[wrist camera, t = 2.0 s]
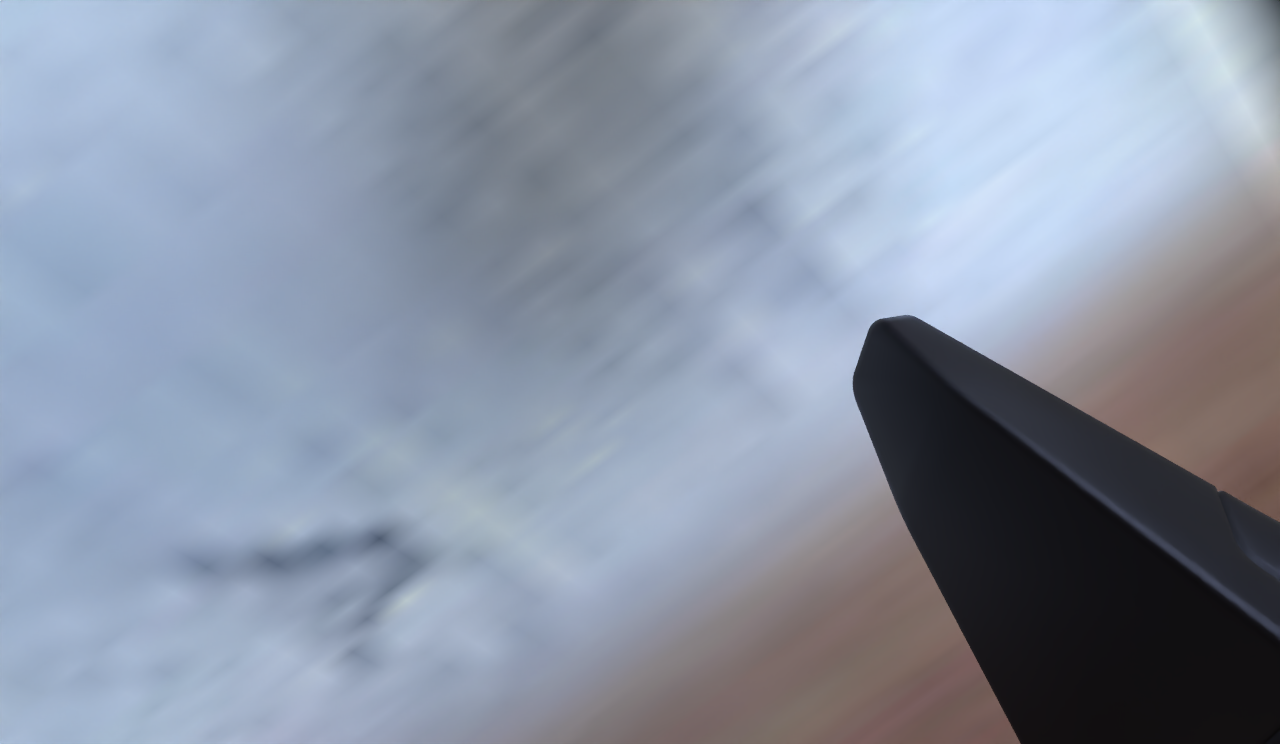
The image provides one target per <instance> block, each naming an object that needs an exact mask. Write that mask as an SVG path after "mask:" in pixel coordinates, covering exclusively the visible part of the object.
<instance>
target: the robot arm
mask: <svg viewBox="0 0 1280 744" xmlns="http://www.w3.org/2000/svg"><path fill="white" fill-rule="evenodd" d="M853 392H854V396H855V400H856V402H857V405H858V407H859V410H860V412H861V415H862V418H863V420H864V423H865V425H866V428H867V430H868V433H869V435H870V438H871V440H872V443H873V446H874V448H875V451H876V453H877V456H878V458H879V461H880V463H881V466H882V468H883V471H884V474H885V476H886V479H887V481H888V484H889V486H890V489H891V491H892V494H893V496H894V499H895V501H896V503H897V506H898V508H899V510H900V513H901V515H902V517H903V519H904V521H905V523H906V525H907V527H908V529H909V532H910V534H911V536H912V538H913V539H914V541H915V543H916V545H917V547H918V549H919V551H920V553H921V555H922V557H923V558H924V560H925V562H926V564H927V566H928V568H929V570H930V572H931V574H932V576H933V577H934V579H935V581H936V583H937V585H938V587H939V589H940V591H941V593H942V595H943V597H944V598H945V600H946V602H947V604H948V606H949V608H950V610H951V612H952V614H953V616H954V617H955V619H956V621H957V623H958V625H959V627H960V629H961V631H962V633H963V635H964V636H965V638H966V640H967V642H968V644H969V646H970V648H971V650H972V652H973V654H974V655H975V657H976V659H977V661H978V663H979V665H980V667H981V669H982V671H983V673H984V674H985V676H986V678H987V680H988V682H989V684H990V686H991V688H992V690H993V692H994V694H995V695H996V697H997V699H998V701H999V703H1000V705H1001V707H1002V709H1003V711H1004V713H1005V714H1006V716H1007V718H1008V720H1009V722H1010V724H1011V726H1012V728H1013V730H1014V732H1015V733H1016V735H1017V737H1018V739H1019V741H1020V743H1021V744H1280V522H1278V521H1276V520H1274V519H1272V518H1271V517H1269V516H1267V515H1265V514H1263V513H1261V512H1260V511H1258V510H1256V509H1254V508H1252V507H1251V506H1249V505H1247V504H1245V503H1244V502H1242V501H1240V500H1238V499H1237V498H1235V497H1233V496H1231V495H1230V494H1228V493H1226V492H1224V491H1219V492H1218V491H1217V489H1216V487H1215V486H1213V485H1212V484H1210V483H1208V482H1206V481H1205V480H1203V479H1201V478H1199V477H1198V476H1196V475H1194V474H1192V473H1190V472H1189V471H1187V470H1185V469H1183V468H1182V467H1180V466H1178V465H1176V464H1175V463H1173V462H1171V461H1169V460H1168V459H1166V458H1164V457H1162V456H1160V455H1159V454H1157V453H1155V452H1153V451H1152V450H1150V449H1148V448H1146V447H1145V446H1143V445H1141V444H1139V443H1137V442H1136V441H1134V440H1132V439H1130V438H1129V437H1127V436H1125V435H1123V434H1122V433H1120V432H1118V431H1116V430H1115V429H1113V428H1111V427H1109V426H1107V425H1106V424H1104V423H1102V422H1100V421H1099V420H1097V419H1095V418H1093V417H1092V416H1090V415H1088V414H1086V413H1084V412H1083V411H1081V410H1079V409H1077V408H1076V407H1074V406H1072V405H1070V404H1069V403H1067V402H1065V401H1063V400H1062V399H1060V398H1058V397H1056V396H1054V395H1053V394H1051V393H1049V392H1047V391H1046V390H1044V389H1042V388H1040V387H1039V386H1037V385H1035V384H1033V383H1031V382H1030V381H1028V380H1026V379H1024V378H1023V377H1021V376H1019V375H1017V374H1016V373H1014V372H1012V371H1010V370H1009V369H1007V368H1005V367H1003V366H1001V365H1000V364H998V363H996V362H994V361H993V360H991V359H989V358H987V357H986V356H984V355H982V354H980V353H978V352H977V351H975V350H973V349H971V348H970V347H968V346H966V345H964V344H963V343H961V342H959V341H957V340H956V339H954V338H952V337H950V336H948V335H947V334H945V333H943V332H941V331H940V330H938V329H936V328H934V327H933V326H931V325H929V324H927V323H925V322H924V321H922V320H920V319H918V318H916V317H914V316H910V315H903V316H897V317H890V318H883V319H879V320H877V321H875V322H874V323H873V324H872V325H871V326H870V328H869V331H868V333H867V336H866V339H865V342H864V345H863V348H862V351H861V354H860V357H859V360H858V363H857V366H856V369H855V372H854V375H853Z"/></svg>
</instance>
